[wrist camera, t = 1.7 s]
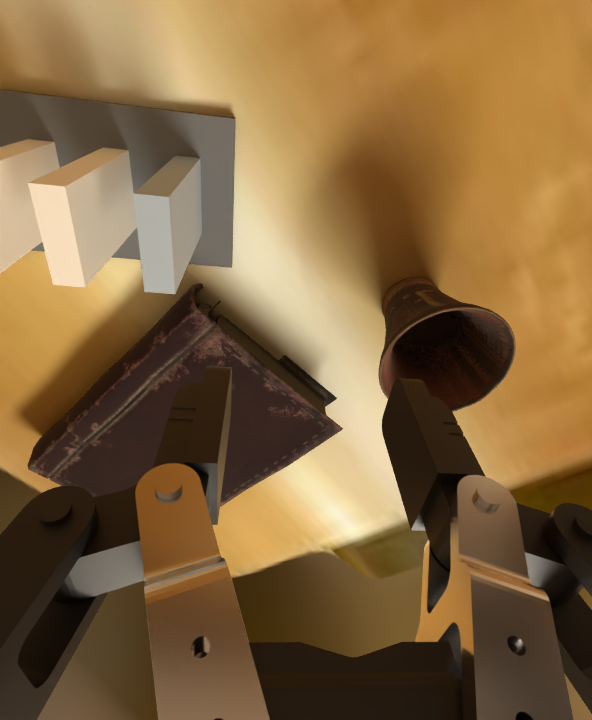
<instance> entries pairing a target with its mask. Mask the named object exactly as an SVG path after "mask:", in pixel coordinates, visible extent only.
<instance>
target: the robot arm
mask: <svg viewBox="0 0 592 720" xmlns="http://www.w3.org/2000/svg"><path fill="white" fill-rule="evenodd" d="M231 388H232V367H217V366H206V369H205V373H204V377H203V382H202V383H192V382H186V383H185V384H184V385H183V386H182V387H181V388H180V389H179V390H178V391H177V393H176V394H175V397H174V400H173V403H172V407H171V410H170V413H169V416H168V421H167V423H166V426H165V430H164V433H163V436H162V440H161V443H160V446H159V449H158V453H157V456H156V459H155V463H154V465H153V468H152V469H151V470H150V471H148V472H147V473H146V474H145V475H144V476H143V477H142V478H141V479H140V481H139V482H138V483H137V484H136V485H134V486H132V487H130V488H128V489H125V490H122V491H119V492H114V493H110V494H106V495H102V496H98V497H92V495H91V494H90V493H89V492H88V491H87V490H85V489H84V488H81V487H78V486H60V487H56V488H53V489H50V490H47V491H45V492H43V493H41V494H40V495H38V496H37V497H35V498H34V499H32V500H31V501H30V502H29V503H28V504H27V505H26V506H25V507H24V508H23V509H22V511H21V512H20V513H19V514H18V515H17V516H16V517H15V519H14V520H13V521H12V522H11V523H10V524H9V525H8V527H7V528H6V529H5V530H4V531H3V532H2V533H1V535H0V720H37V718H38V716H39V715H40V713H41V711H42V709H43V708H44V706H45V704H46V702H47V700H48V699H49V697H50V695H51V693H52V692H53V690H54V688H55V686H56V684H57V683H58V681H59V679H60V677H61V676H62V674H63V672H64V670H65V668H66V666H67V665H68V663H69V661H70V660H71V658H72V656H73V654H74V653H75V651H76V649H77V647H78V645H79V644H80V642H81V640H82V638H83V636H84V635H85V633H86V631H87V629H88V628H89V626H90V624H91V622H92V621H93V619H94V617H95V615H96V613H97V612H98V610H99V608H100V606H101V605H102V603H103V601H104V599H105V598H106V596H107V594H108V592H109V591H112V590H115V589H119V588H121V587H125V586H128V585H131V584H134V583H137V582H141V581H144V580H145V583H144V589H145V601H146V609H147V619H148V628H149V637H150V646H151V655H152V665H153V674H154V682H155V692H156V701H157V710H158V720H573V715H572V710H571V705H570V700H569V695H568V690H567V685H566V680H565V675H566V676H567V677H568V679H569V680H570V682H571V683H572V685H573V686H574V688H575V689H576V691H577V692H578V694H579V695H580V697H581V698H582V700H583V701H584V703H585V704H586V706H587V707H588V709H589V710H590V712H591V713H592V610H591V609H590V607H589V606H588V605H587V604H586V602H585V601H584V600H583V599H582V598H581V596H580V595H579V594H578V593H579V592H580V591H581V590H582V589H583V588H584V587H585V589H586V590H587V591H588V592H589V594H590V595H591V596H592V510H590V509H588V508H586V507H583V506H581V505H577V504H572V503H564V504H561V505H559V506H557V507H556V508H555V510H554V511H553V512H552V513H551V514H550V513H546V512H543V511H540V510H537V509H533V508H530V507H527V506H524V505H521V504H518V503H516V502H515V500H514V498H513V497H512V495H511V494H510V493H509V491H508V490H507V489H506V488H504V487H503V486H502V485H501V484H499V483H498V482H496V481H494V480H492V479H490V478H488V477H485V475H484V473H483V471H482V469H481V467H480V465H479V463H478V461H477V459H476V457H475V455H474V453H473V451H472V449H471V448H470V446H469V444H468V442H467V440H466V438H465V436H463V432H462V430H461V428H460V426H459V425H457V423H458V422H457V420H456V418H455V417H454V415H453V413H452V411H451V409H450V408H449V407H448V406H447V405H446V404H445V403H444V402H443V401H442V400H441V399H439V398H438V397H431V396H430V394H429V392H428V390H427V387H426V385H425V383H424V382H423V380H419V379H403V378H397V379H395V381H394V383H393V386H392V389H391V392H390V395H389V399H388V402H387V405H386V408H385V411H384V414H383V419H382V432H383V437H384V440H385V444H386V447H387V450H388V454H389V457H390V461H391V464H392V467H393V471H394V474H395V477H396V481H397V484H398V488H399V491H400V494H401V498H402V501H403V505H404V508H405V511H406V515H407V518H408V521H409V525H410V528H411V530H426V533H427V536H428V539H429V540H428V541H427V543H426V546H425V549H424V562H423V582H422V601H421V618H420V624H419V629H418V632H417V635H416V639H415V642H401V643H398V644H395V645H392V646H389V647H386V648H383V649H380V650H377V651H375V652H372V653H369V654H366V655H363V656H360V657H356V658H355V657H354V658H352V657H347V656H344V655H341V654H337V653H334V652H331V651H327V650H323V649H321V648H317V647H314V646H311V645H307V644H304V643H301V642H285V643H284V642H283V643H282V642H279V643H278V642H273V643H272V642H264V643H258V642H257V643H249V642H248V638H247V634H246V630H245V627H244V623H243V620H242V616H241V612H240V609H239V605H238V601H237V598H236V594H235V590H234V587H233V583H232V579H231V576H230V572H229V569H228V566H227V563H226V561H225V559H224V558H222V557H221V555H220V552H219V549H218V545H217V541H216V537H215V533H214V530H213V526H212V525H217V524H218V516H219V508H220V500H221V492H222V484H223V476H224V468H225V460H226V452H227V444H228V435H229V427H230V416H231ZM564 673H565V675H564Z"/></svg>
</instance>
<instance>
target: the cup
mask: <svg viewBox="0 0 592 720" xmlns="http://www.w3.org/2000/svg"><path fill="white" fill-rule="evenodd" d="M382 309H383V315H384V318H385V325H386V337H385V345H384V350H383V352H382V355H381V360H380V366H379V382H380V386H381V389H382V391H383V393H384V394H385V396H386V397H387V398H388V399H389V395H390V392H391V389H392V386H393V383H394V381H395V379H397V378H403V379H419V380H423V382H424V383H425V385H426V387H427V390H428V392H429V394H430V396H431V397H438V398H439V399H441V400H442V401H443V402H444V403H445V404H446V405H447V406H448V407H449V408H450V409H451V411H452V412H453V411H457V410H459V409H462V408H464V407H467V406H470V405H472V404H475V403H477V402H478V401H480V400H482V399H483V398H485V397H486V396H487V395H488V394H489V393H490V392H491V391H493V390H494V389H495V388H497V386H498V385H499V384H500V383H501V382H503V380H504V378H505V377H506V375H507V373H508V372H509V370H510V368H511V365H512V362H513V360H514V356H515V338H514V334H513V332H512V330H511V327H510V326H509V324H508V323H507V322H506V321H505V320H504V319H503V318H502V317H501V316H499V315H498V314H496V313H495V312H493V311H491V310H489V309H486V308H483V307H480V306H477V305H473V304H467V303H462V302H459V301H457V300H455V299H453V298H451V297H449V296H447V295H446V294H444V293H442V292H441V291H440V290H438V288H437V287H436V286H435V285H434V284H433V283H432V282H431V281H429V280H427V279H423V278H409V279H405V280H402V281H400V282H398V283H396V284H395V285H394V286H393V287H392V288H390V290H389V291H388V292H387V294H386V295H385V297H384V301H383V306H382Z"/></svg>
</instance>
